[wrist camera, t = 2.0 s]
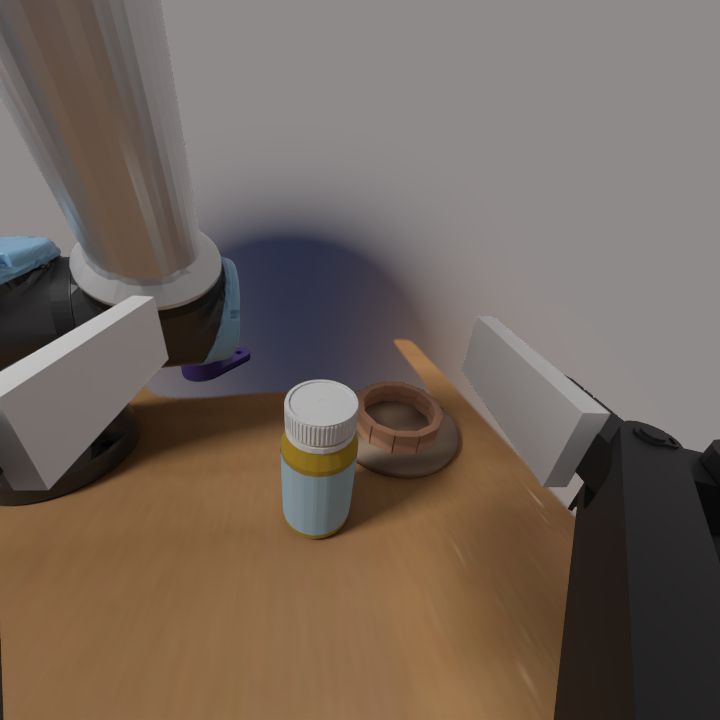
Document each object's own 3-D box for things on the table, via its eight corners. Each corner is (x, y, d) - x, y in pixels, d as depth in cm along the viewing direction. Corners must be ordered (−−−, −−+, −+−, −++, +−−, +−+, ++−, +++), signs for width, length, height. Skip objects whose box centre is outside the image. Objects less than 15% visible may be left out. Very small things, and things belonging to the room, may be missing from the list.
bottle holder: (311, 410, 48) (312, 389, 46) (401, 381, 58) (404, 362, 56) (384, 502, 36) (389, 478, 34) (482, 445, 45) (491, 424, 43)
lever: (194, 386, 51) (191, 369, 49) (175, 370, 54) (172, 354, 52) (258, 361, 59) (257, 346, 58) (239, 348, 62) (237, 334, 61)
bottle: (327, 556, 30) (337, 443, 22) (269, 521, 32) (260, 408, 25) (359, 499, 36) (377, 393, 28) (307, 473, 38) (310, 368, 30)
